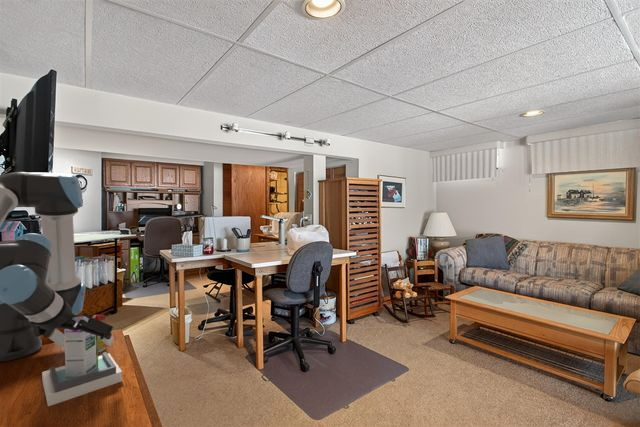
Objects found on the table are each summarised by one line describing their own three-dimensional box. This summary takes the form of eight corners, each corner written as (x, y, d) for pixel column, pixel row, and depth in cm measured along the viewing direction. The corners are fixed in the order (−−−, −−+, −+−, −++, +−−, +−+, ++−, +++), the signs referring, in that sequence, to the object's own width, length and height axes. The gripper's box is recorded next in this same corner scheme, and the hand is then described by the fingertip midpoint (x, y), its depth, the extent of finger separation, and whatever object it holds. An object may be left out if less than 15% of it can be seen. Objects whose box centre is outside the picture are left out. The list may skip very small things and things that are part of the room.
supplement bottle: (92, 355, 111) (91, 327, 111) (85, 351, 114) (84, 324, 114) (108, 349, 116) (108, 323, 115) (101, 345, 119) (101, 319, 118)
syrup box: (85, 377, 91) (84, 328, 91) (64, 377, 91) (63, 328, 91) (98, 367, 97) (98, 320, 97) (78, 367, 97) (78, 320, 96)
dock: (42, 381, 95) (42, 365, 94) (109, 361, 107) (109, 347, 106) (47, 406, 83) (47, 387, 83) (122, 381, 95) (121, 364, 95)
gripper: (-15, 324, 77) (37, 355, 93) (91, 323, 79) (125, 353, 94) (5, 296, 83) (51, 330, 98) (104, 296, 84) (134, 329, 99)
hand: (88, 341), depth 96 cm, fingers open, 13 cm apart
